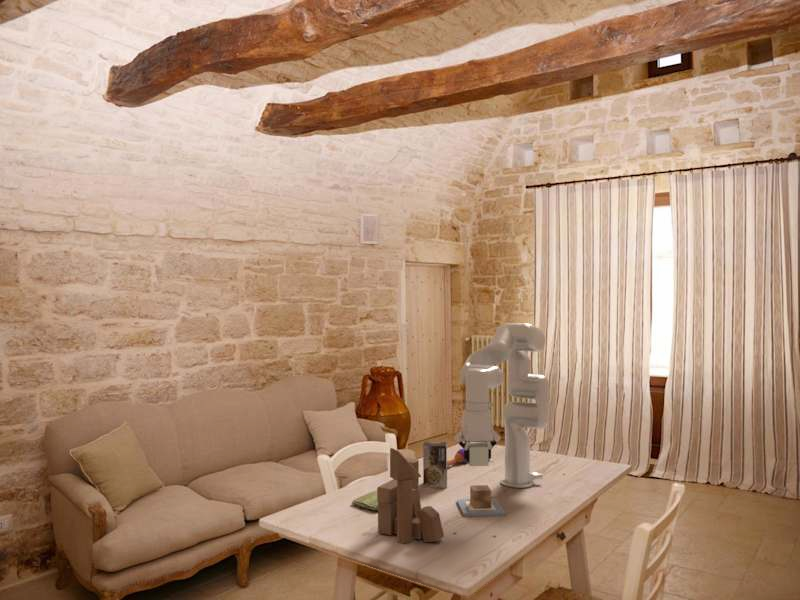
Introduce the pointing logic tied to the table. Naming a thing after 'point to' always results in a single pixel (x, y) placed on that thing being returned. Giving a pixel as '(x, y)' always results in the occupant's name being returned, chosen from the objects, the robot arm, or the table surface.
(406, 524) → the wooden blocks
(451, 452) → the table surface
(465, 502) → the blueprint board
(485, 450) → the sage block
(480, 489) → the walnut block
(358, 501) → the washcloth
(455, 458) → the kendama
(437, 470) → the coffee box
